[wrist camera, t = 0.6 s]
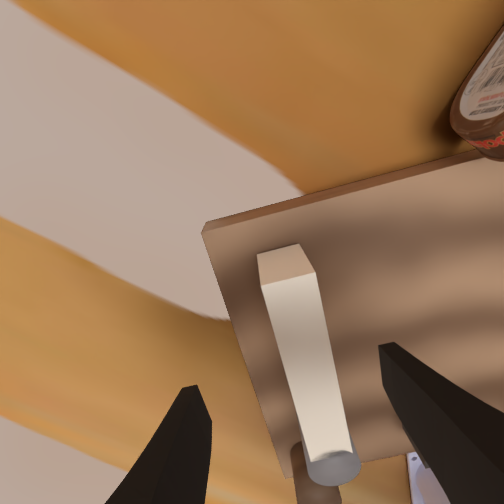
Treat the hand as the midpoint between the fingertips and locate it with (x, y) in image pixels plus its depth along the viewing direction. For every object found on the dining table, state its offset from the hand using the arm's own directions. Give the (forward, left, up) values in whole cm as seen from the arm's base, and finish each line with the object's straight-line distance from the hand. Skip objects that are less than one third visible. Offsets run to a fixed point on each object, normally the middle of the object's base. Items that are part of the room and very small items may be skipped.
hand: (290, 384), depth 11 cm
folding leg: (-4, -1, -7) cm, 8 cm away
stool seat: (-6, -8, -10) cm, 14 cm away
